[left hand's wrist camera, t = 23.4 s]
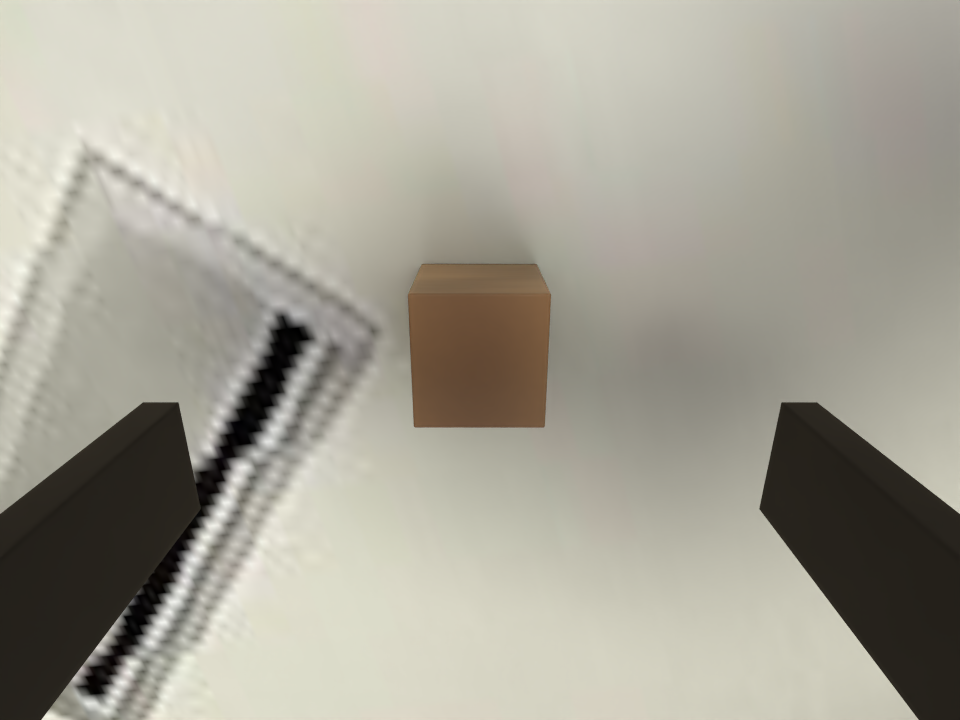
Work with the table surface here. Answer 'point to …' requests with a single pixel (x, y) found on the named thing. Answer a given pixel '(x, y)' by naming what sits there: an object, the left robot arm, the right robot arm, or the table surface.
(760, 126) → the table surface
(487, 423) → the block
